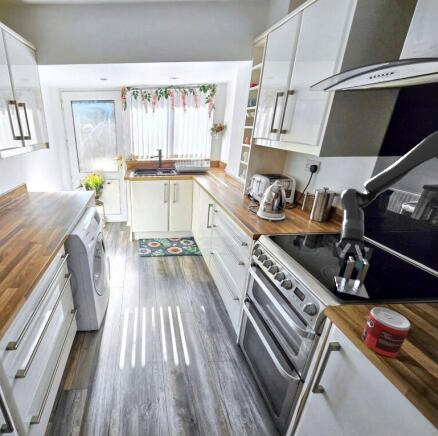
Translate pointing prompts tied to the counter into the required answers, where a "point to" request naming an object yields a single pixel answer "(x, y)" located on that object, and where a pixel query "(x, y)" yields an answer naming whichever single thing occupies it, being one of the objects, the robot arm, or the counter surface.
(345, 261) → the lever
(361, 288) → the bracket
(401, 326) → the canned food
